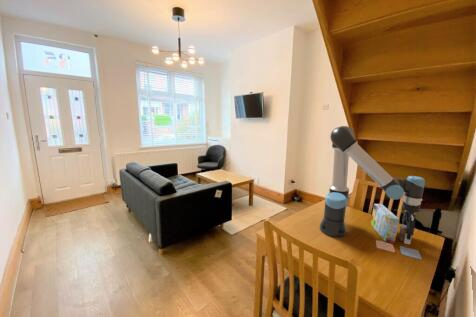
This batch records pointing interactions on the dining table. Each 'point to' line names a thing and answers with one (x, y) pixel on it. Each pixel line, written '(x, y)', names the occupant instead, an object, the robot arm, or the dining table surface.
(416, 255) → the slate tile
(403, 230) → the block
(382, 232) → the snack box
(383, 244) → the terracotta tile
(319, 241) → the dining table surface
